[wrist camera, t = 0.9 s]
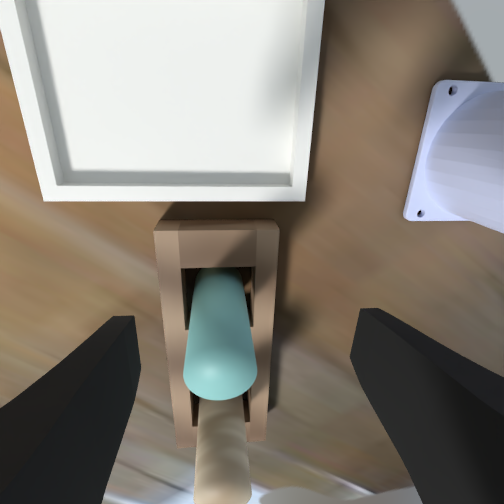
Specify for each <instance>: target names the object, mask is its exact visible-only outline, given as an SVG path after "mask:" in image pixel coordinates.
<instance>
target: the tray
mask: <svg viewBox="0 0 504 504" xmlns="http://www.w3.org/2000/svg"><path fill="white" fill-rule="evenodd" d="M324 4H325V0H0V29H1V33H2V37H3V41H4V45H5V49H6V53H7V57H8V60H9V64H10V68H11V72H12V76H13V80H14V84H15V88H16V92H17V96H18V100H19V104H20V108H21V112H22V116H23V120H24V124H25V128H26V132H27V136H28V140H29V144H30V148H31V152H32V156H33V160H34V164H35V168H36V172H37V176H38V180H39V184H40V188H41V192H42V196H43V199H44V201H305V196H306V185H307V175H308V165H309V155H310V145H311V135H312V125H313V115H314V105H315V95H316V85H317V75H318V65H319V55H320V44H321V34H322V24H323V14H324Z"/></svg>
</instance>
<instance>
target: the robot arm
mask: <svg viewBox="0 0 504 504" xmlns="http://www.w3.org/2000/svg"><path fill="white" fill-rule="evenodd" d="M450 87H452V93H451V94H450V95H449V93H448V91H449V88H450ZM420 210H421V213H420V214H419V215H418V216H417V213H418V211H420ZM403 216H404V218H405V219H407V220H409V221H473V222H475V223H478V224H480V225H483V226H486V227H488V228H491V229H494V230H496V231H499V232H501V233H504V83H500V82H481V81H461V80H443V81H439V82H437V83H436V84H435V85H434V87H433V89H432V93H431V97H430V101H429V105H428V110H427V114H426V118H425V122H424V127H423V131H422V135H421V139H420V144H419V148H418V152H417V156H416V161H415V165H414V169H413V173H412V178H411V182H410V186H409V190H408V195H407V199H406V203H405V207H404V212H403ZM350 359H351V362H352V364H353V367H354V370H355V372H356V375H357V377H358V379H359V382H360V384H361V386H362V388H363V390H364V392H365V394H366V396H367V398H368V399H369V401H370V403H371V405H372V407H373V409H374V410H375V412H376V414H377V416H378V417H379V419H380V421H381V423H382V425H383V426H384V428H385V430H386V432H387V433H388V435H389V437H390V439H391V441H392V442H393V444H394V446H395V448H396V449H397V451H398V453H399V455H400V457H401V459H402V461H403V462H404V464H405V466H406V468H407V470H408V472H409V474H410V476H411V479H412V481H413V483H414V485H415V487H416V489H417V492H418V494H419V496H420V498H421V500H422V503H423V504H504V377H502V376H500V375H498V374H496V373H494V372H492V371H490V370H488V369H486V368H484V367H482V366H480V365H478V364H476V363H475V362H473V361H471V360H469V359H467V358H465V357H463V356H461V355H460V354H458V353H456V352H454V351H453V350H451V349H449V348H447V347H445V346H444V345H442V344H440V343H438V342H437V341H435V340H433V339H432V338H430V337H428V336H426V335H425V334H423V333H421V332H420V331H418V330H416V329H415V328H413V327H411V326H410V325H408V324H406V323H404V322H403V321H401V320H399V319H398V318H396V317H394V316H392V315H390V314H389V313H387V312H385V311H383V310H381V309H379V308H363V309H360V313H359V317H358V322H357V326H356V331H355V335H354V340H353V344H352V349H351V353H350ZM140 371H141V363H140V355H139V348H138V340H137V333H136V325H135V317H134V316H113V317H112V318H110V319H109V320H108V321H107V322H106V323H105V324H103V325H102V326H101V327H100V328H99V329H98V330H97V331H96V332H94V333H93V334H92V335H91V336H90V337H89V338H88V339H87V340H85V341H84V342H83V343H82V344H81V345H80V346H79V347H77V348H76V349H75V350H74V351H73V352H72V353H70V354H69V355H68V356H67V357H66V358H65V359H63V360H62V361H61V362H60V363H59V364H57V365H56V366H55V367H54V368H52V369H51V370H50V371H49V372H47V373H46V374H45V375H44V376H42V377H41V378H40V379H38V380H37V381H36V382H35V383H33V384H32V385H31V386H30V387H28V388H27V389H26V390H25V391H23V392H22V393H21V394H19V395H18V396H17V397H15V398H14V399H13V400H11V401H10V402H9V403H7V404H6V405H4V406H3V407H2V408H0V504H101V503H102V500H103V496H104V493H105V489H106V486H107V483H108V480H109V477H110V474H111V471H112V468H113V465H114V462H115V459H116V456H117V453H118V450H119V447H120V444H121V441H122V438H123V435H124V432H125V429H126V426H127V423H128V419H129V416H130V413H131V410H132V407H133V404H134V401H135V396H136V391H137V387H138V382H139V377H140Z"/></svg>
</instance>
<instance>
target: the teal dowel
mask: <svg viewBox="0 0 504 504" xmlns="http://www.w3.org/2000/svg"><path fill="white" fill-rule="evenodd" d="M256 376H257V364H256V358H255V352H254V346H253V340H252V334H251V329H250V323H249V317H248V311H247V305H246V299H245V293H244V287H243V281H242V277H241V274H240V272H239V271H238V270H237V269H236V268H235V267H212V268H202V269H201V270H200V271H199V272H198V274H197V276H196V279H195V286H194V293H193V301H192V309H191V317H190V324H189V332H188V340H187V347H186V355H185V363H184V371H183V378H184V382H185V384H186V386H187V387H188V388H189V390H190V391H191V392H193V393H194V394H195V395H197V396H199V397H202V398H204V399H208V400H227V399H231V398H234V397H237V396H239V395H241V394H243V393H244V392H245V391H247V390H248V389H249V388H250V387H251V386H252V384H253V383H254V381H255V379H256Z"/></svg>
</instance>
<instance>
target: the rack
mask: <svg viewBox="0 0 504 504" xmlns="http://www.w3.org/2000/svg"><path fill="white" fill-rule="evenodd" d="M279 232H280V229H279V228H278V226H277V224H276V223H275V221H274V219H247V220H159V222H158V224H157V225H156V227H155V229H154V231H153V233H154V242H155V251H156V260H157V269H158V279H159V288H160V297H161V306H162V315H163V325H164V334H165V343H166V352H167V361H168V370H169V380H170V389H171V398H172V407H173V416H174V425H175V435H176V444H177V448H188V447H197V433H198V416H199V404H194V395H193V392H191V391H190V390H189V388H188V387H187V386H186V384H185V382H184V378H183V371H184V363H185V355H186V347H187V340H188V332H189V324H190V317H191V312H188V308H187V293H186V278H185V268H212V267H252V271H251V304H250V309H248V310H247V311H248V317H249V323H250V329H251V334H252V340H253V346H254V352H255V358H256V364H257V376H256V379H255V381H254V383H253V384H252V386H251V387H250V388H249V389H248V400H243V409H244V419H245V429H246V439H247V442H253V441H264V440H265V438H266V424H267V409H268V394H269V379H270V365H271V350H272V335H273V321H274V306H275V291H276V276H277V262H278V247H279Z"/></svg>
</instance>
